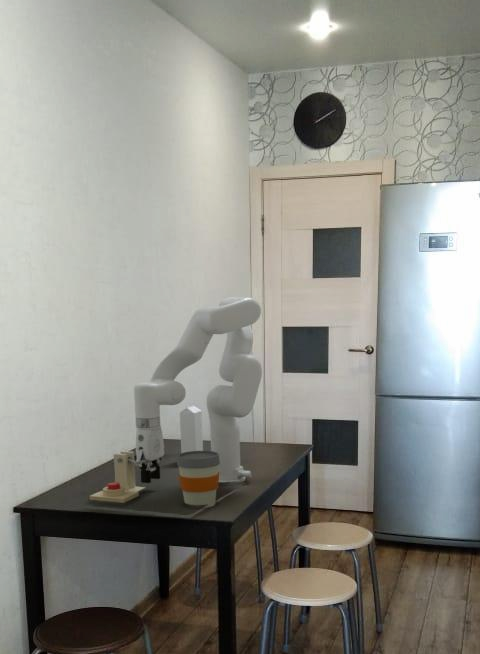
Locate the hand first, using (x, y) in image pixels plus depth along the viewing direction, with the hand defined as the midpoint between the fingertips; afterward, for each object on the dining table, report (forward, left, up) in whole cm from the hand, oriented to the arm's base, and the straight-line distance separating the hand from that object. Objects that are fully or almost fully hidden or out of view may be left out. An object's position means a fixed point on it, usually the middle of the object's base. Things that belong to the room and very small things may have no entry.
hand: (150, 480), depth 264 cm
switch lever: (+5, 0, +4) cm, 6 cm away
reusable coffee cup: (-20, +6, -5) cm, 21 cm away
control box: (+7, +10, -5) cm, 13 cm away
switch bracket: (+9, 0, -5) cm, 10 cm away
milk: (+9, -47, -5) cm, 48 cm away
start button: (+7, +10, -1) cm, 12 cm away
